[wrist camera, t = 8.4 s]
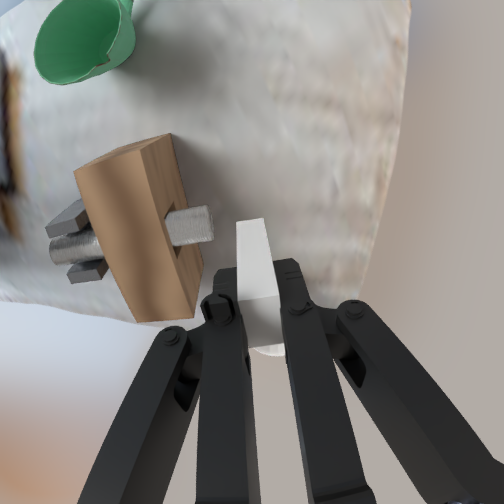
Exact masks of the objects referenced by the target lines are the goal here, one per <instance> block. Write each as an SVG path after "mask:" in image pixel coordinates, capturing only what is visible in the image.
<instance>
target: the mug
mask: <svg viewBox="0 0 504 504" xmlns="http://www.w3.org/2000/svg"><path fill="white" fill-rule="evenodd" d="M132 6H133V0H63V1H62V2H61V3H60V4H58V5H57V6H56V7H55V8H54V9H53V10H52V11H51V12H50V14H49V15H48V17H47V18H46V20H45V21H44V23H43V24H42V26H41V28H40V31H39V33H38V36H37V38H36V42H35V48H34V60H35V67H36V69H37V70H38V72H39V74H40V76H41V77H42V78H43V79H45V80H46V81H47V82H49V83H51V84H57V85H67V84H72V83H78V82H82V81H84V80H86V79H88V78H91V77H94V76H97V75H101V74H103V73H105V72H107V71H109V70H111V69H113V68H115V67H117V66H118V65H120V64H121V63H122V62H124V61H125V60H126V59H127V58H128V57H129V56H130V55H131V54H132V52H133V50H134V48H135V42H136V35H135V30H134V26H133V22H132V20H131V12H132Z"/></svg>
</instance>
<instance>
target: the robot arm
mask: <svg viewBox="0 0 504 504" xmlns="http://www.w3.org/2000/svg"><path fill="white" fill-rule="evenodd" d="M236 232H237V267H234V268H227V269H220V270H218V271H217V273H216V274H215V276H214V281H213V292H212V294H210V295H208V296H206V297H205V298H204V299H203V300H202V302H201V304H200V307H201V310H202V313H203V315H204V318H205V321H206V322H205V323H204V324H202V325H201V326H199V327H197V328H194V329H192V330H189V331H186V330H185V329H184V328H182V327H179V326H170V327H167V328H165V329H163V330H162V331H160V332H159V333H158V335H157V336H156V338H155V339H154V341H153V343H152V345H151V347H150V349H149V351H148V353H147V355H146V356H145V358H144V360H143V362H142V364H141V366H140V368H139V370H138V372H137V374H136V376H135V378H134V380H133V382H132V384H131V386H130V388H129V390H128V392H127V394H126V396H125V398H124V400H123V402H122V404H121V406H120V408H119V410H118V412H117V414H116V416H115V419H114V421H113V423H112V425H111V427H110V429H109V431H108V434H107V436H106V438H105V440H104V442H103V444H102V446H101V449H100V451H99V453H98V455H97V458H96V460H95V462H94V464H93V467H92V469H91V471H90V474H89V476H88V478H87V481H86V483H85V485H84V488H83V490H82V493H81V495H80V498H79V500H78V503H77V504H163V500H164V497H165V495H166V491H167V489H168V485H169V483H170V480H171V477H172V474H173V471H174V468H175V465H176V462H177V460H178V457H179V454H180V451H181V448H182V445H183V442H184V439H185V435H186V433H187V430H188V427H189V424H190V422H191V419H192V416H193V413H194V410H195V407H196V404H197V401H198V398H199V395H200V402H199V420H198V442H197V444H198V445H197V472H196V502H195V504H261V496H260V484H259V473H258V459H257V446H256V434H255V419H254V407H253V406H254V405H253V391H252V378H251V363H250V356H249V352H248V346H249V348H254V347H261V346H269V345H275V344H282V343H284V347H285V358H286V364H287V368H288V373H289V380H290V386H291V391H292V397H293V404H294V410H295V416H296V423H297V429H298V435H299V442H300V448H301V455H302V461H303V468H304V474H305V481H306V489H307V496H308V503H309V504H377V503H376V500H375V496H374V493H373V491H372V489H371V488H370V487H369V486H368V485H367V482H366V480H365V476H364V472H363V468H362V464H361V460H360V456H359V452H358V448H357V444H356V440H355V436H354V432H353V428H352V425H351V421H350V417H349V414H348V410H347V407H346V403H345V399H344V396H343V392H342V389H341V386H340V382H339V379H338V375H337V372H336V368H335V365H334V362H333V359H334V361H335V363H336V364H337V366H338V367H339V369H340V370H341V372H342V373H343V375H344V376H345V378H346V379H347V381H348V383H349V384H350V386H351V387H352V389H353V390H354V392H355V393H356V395H357V396H358V398H359V400H360V401H361V403H362V404H363V406H364V407H365V409H366V410H367V412H368V413H369V415H370V416H371V418H372V420H373V421H374V423H375V424H376V426H377V428H378V429H379V431H380V432H381V434H382V435H383V437H384V438H385V440H386V442H387V443H388V445H389V446H390V448H391V449H392V451H393V452H394V454H395V455H396V457H397V459H398V460H399V462H400V464H401V465H402V467H403V468H404V470H405V471H406V473H407V475H408V476H409V478H410V479H411V481H412V482H413V484H414V486H415V487H416V489H417V491H418V492H419V494H420V495H421V496H422V498H423V499H424V500H425V502H426V503H427V504H504V464H502V463H500V462H499V461H497V460H495V459H494V458H493V457H492V455H491V454H490V452H489V451H488V450H487V448H486V447H485V445H484V444H483V443H482V442H481V440H480V439H479V437H478V436H477V434H476V433H475V432H474V430H473V429H472V428H471V426H470V425H469V424H468V422H467V421H466V420H465V419H464V417H463V416H462V415H461V413H460V412H459V411H458V409H457V408H456V407H455V406H454V405H453V403H452V402H451V401H450V399H449V398H448V397H447V396H446V394H445V393H444V392H443V391H442V389H441V388H440V387H439V386H438V385H437V383H436V382H435V381H434V380H433V378H432V377H431V376H430V375H429V374H428V372H427V371H426V370H425V369H424V368H423V366H422V365H421V364H420V363H419V362H418V361H417V359H416V358H415V357H414V356H413V355H412V354H411V352H410V351H409V350H408V349H407V348H406V347H405V345H404V344H403V343H402V342H401V341H400V340H399V339H398V337H397V336H396V335H395V334H394V333H393V332H392V331H391V330H390V328H389V327H388V326H387V325H386V324H385V323H384V322H383V321H382V320H381V318H380V317H379V316H378V315H377V314H376V313H375V312H374V311H373V310H372V309H371V307H370V306H369V305H367V304H366V303H365V302H363V301H359V300H348V301H345V302H343V303H341V304H340V305H339V307H338V308H337V309H329V308H323V307H320V306H317V305H316V304H314V302H313V301H312V300H311V299H310V297H309V293H308V290H307V287H306V284H305V281H304V278H303V275H302V272H301V269H300V267H299V264H298V263H297V262H296V261H295V260H294V259H293V258H289V259H283V260H276V261H272V257H271V252H270V247H269V243H268V238H267V233H266V229H265V224H264V219H263V218H259V219H252V220H246V221H239V222H236Z"/></svg>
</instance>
